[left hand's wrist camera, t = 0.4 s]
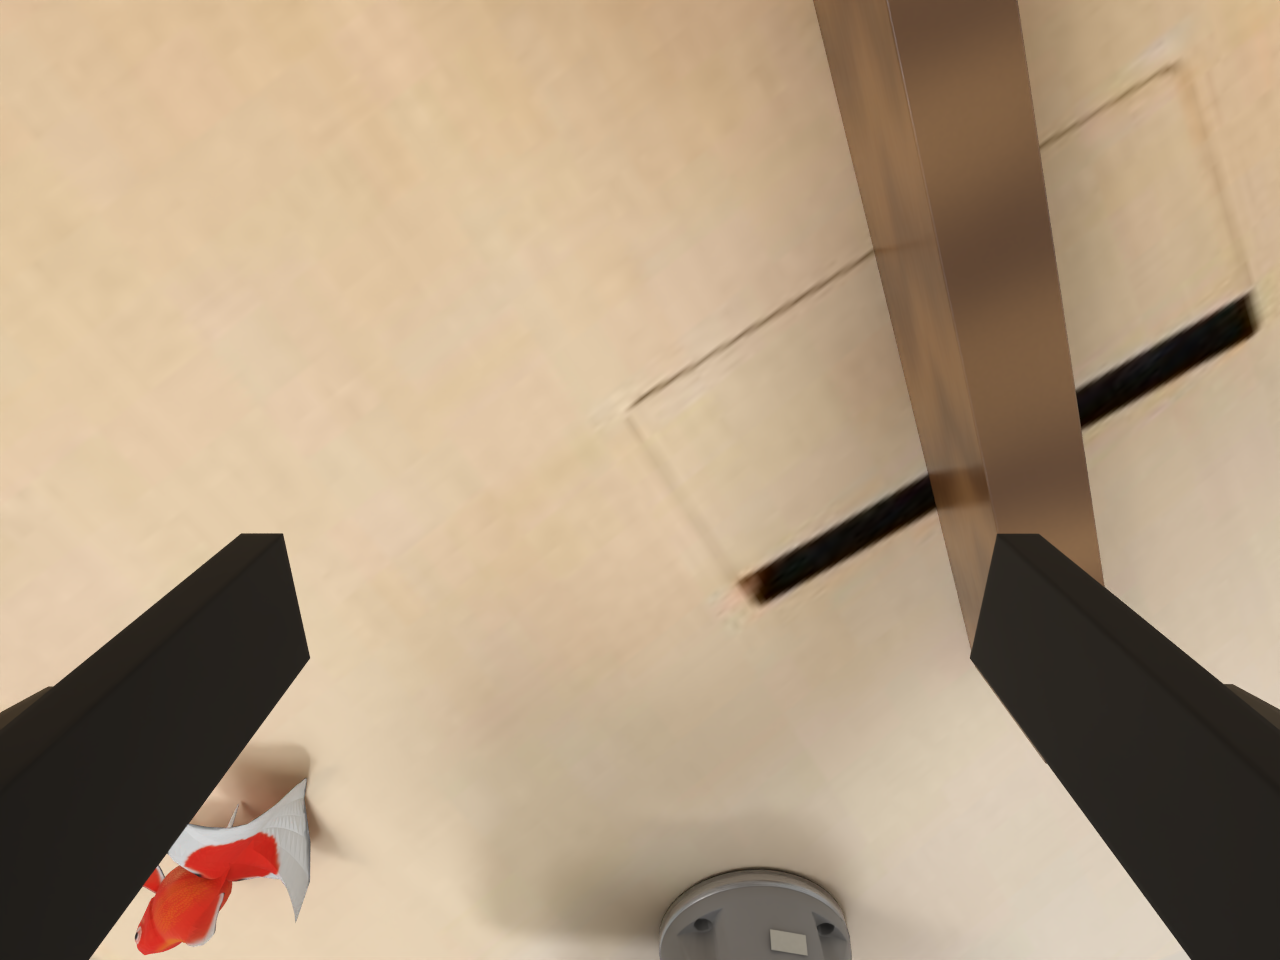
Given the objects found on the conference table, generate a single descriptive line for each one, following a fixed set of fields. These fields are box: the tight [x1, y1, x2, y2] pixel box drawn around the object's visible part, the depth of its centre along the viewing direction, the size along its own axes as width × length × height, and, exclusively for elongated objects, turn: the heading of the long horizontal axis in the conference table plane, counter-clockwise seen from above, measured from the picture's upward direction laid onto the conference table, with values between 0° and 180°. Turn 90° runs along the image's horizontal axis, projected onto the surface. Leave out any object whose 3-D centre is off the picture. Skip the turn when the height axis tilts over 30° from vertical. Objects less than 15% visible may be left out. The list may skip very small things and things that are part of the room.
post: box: [813, 0, 1104, 764], centre depth 32 cm, size 57×4×9 cm, turn 21°
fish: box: [135, 778, 310, 955], centre depth 47 cm, size 11×16×10 cm
